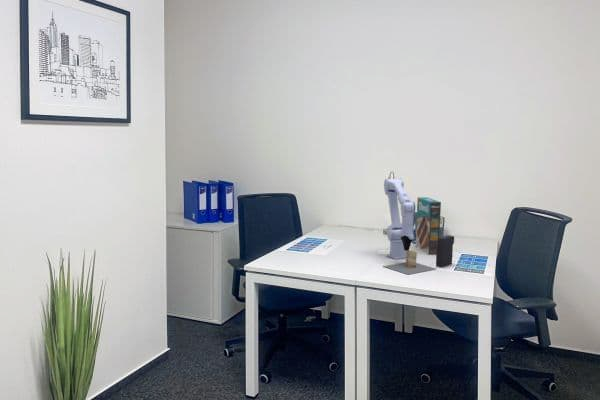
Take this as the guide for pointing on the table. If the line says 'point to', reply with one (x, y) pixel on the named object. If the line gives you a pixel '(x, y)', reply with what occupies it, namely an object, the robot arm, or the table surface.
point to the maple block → (411, 258)
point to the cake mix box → (428, 224)
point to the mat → (404, 269)
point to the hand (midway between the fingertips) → (406, 250)
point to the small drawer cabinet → (444, 250)
